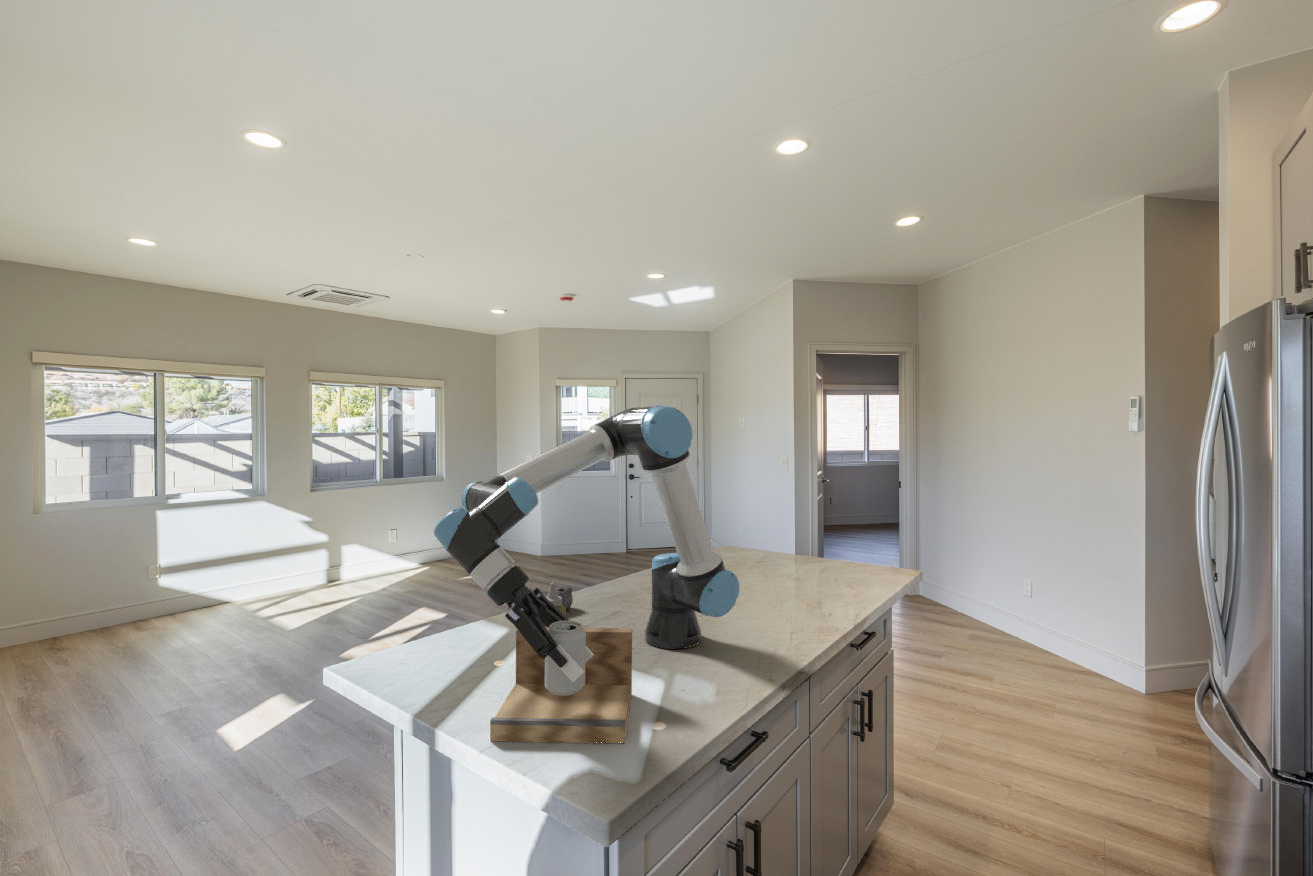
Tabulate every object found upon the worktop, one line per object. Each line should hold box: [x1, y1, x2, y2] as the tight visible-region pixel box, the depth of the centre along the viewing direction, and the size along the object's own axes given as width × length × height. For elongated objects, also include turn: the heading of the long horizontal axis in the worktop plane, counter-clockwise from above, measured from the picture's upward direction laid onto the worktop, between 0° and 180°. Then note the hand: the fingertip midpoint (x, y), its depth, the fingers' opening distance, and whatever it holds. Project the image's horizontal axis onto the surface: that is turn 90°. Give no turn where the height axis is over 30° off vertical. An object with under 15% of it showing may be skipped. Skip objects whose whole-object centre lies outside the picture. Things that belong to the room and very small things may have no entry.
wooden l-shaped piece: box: [489, 627, 633, 744], centre depth 115 cm, size 24×20×14 cm
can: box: [545, 620, 586, 696], centre depth 110 cm, size 8×8×12 cm
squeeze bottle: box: [543, 582, 567, 627], centre depth 146 cm, size 8×8×18 cm
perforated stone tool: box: [544, 585, 574, 611], centre depth 181 cm, size 15×5×7 cm, turn 147°
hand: (583, 667), depth 110 cm, fingers closed on can, 7 cm apart
